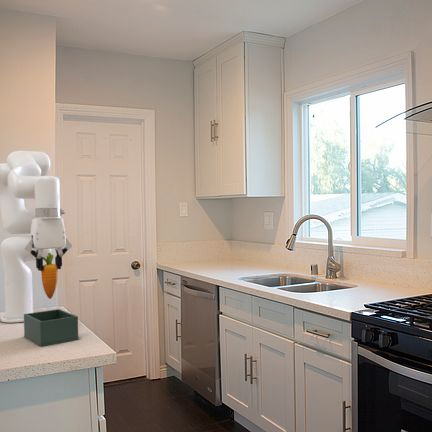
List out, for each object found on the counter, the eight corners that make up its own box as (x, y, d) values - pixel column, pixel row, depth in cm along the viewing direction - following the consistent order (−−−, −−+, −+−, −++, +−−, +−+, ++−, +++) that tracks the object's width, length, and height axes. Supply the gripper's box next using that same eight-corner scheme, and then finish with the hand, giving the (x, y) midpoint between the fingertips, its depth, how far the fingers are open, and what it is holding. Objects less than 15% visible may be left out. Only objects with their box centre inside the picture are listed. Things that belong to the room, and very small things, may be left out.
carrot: (52, 300, 174) (51, 253, 173) (38, 300, 175) (37, 253, 174) (61, 297, 178) (60, 252, 178) (48, 297, 179) (47, 252, 179)
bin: (24, 336, 179) (23, 314, 179) (60, 330, 187) (59, 309, 187) (40, 346, 167) (40, 322, 167) (78, 339, 175) (77, 316, 174)
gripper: (70, 213, 184) (71, 266, 185) (16, 214, 173) (17, 271, 173) (78, 213, 179) (79, 268, 179) (23, 214, 167) (25, 273, 168)
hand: (49, 269), depth 176 cm, fingers closed on carrot, 4 cm apart
